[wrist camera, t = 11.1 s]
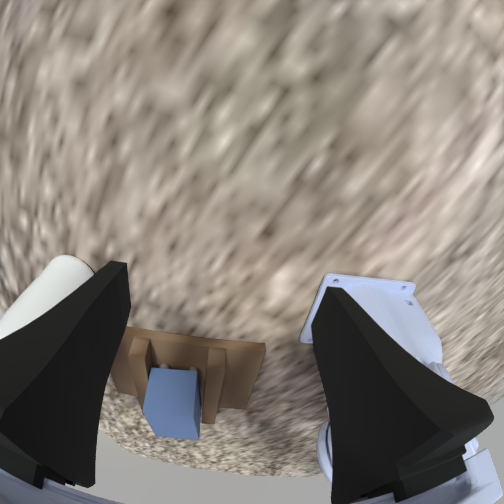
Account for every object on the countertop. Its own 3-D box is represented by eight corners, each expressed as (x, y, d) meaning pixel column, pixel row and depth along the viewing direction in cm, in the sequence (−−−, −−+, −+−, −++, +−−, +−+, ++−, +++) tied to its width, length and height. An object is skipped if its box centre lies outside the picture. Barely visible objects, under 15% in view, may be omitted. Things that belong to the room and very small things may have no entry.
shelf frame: (264, 343, 27) (267, 372, 24) (245, 402, 33) (246, 426, 30) (101, 321, 25) (89, 348, 22) (119, 385, 31) (113, 408, 28)
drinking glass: (51, 297, 23) (-14, 424, 10) (40, 237, 20) (-60, 371, 7) (110, 313, 24) (60, 461, 12) (106, 252, 21) (20, 422, 8)
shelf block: (201, 400, 29) (199, 440, 24) (161, 397, 28) (155, 436, 24) (197, 371, 26) (193, 416, 21) (151, 367, 25) (142, 411, 21)
